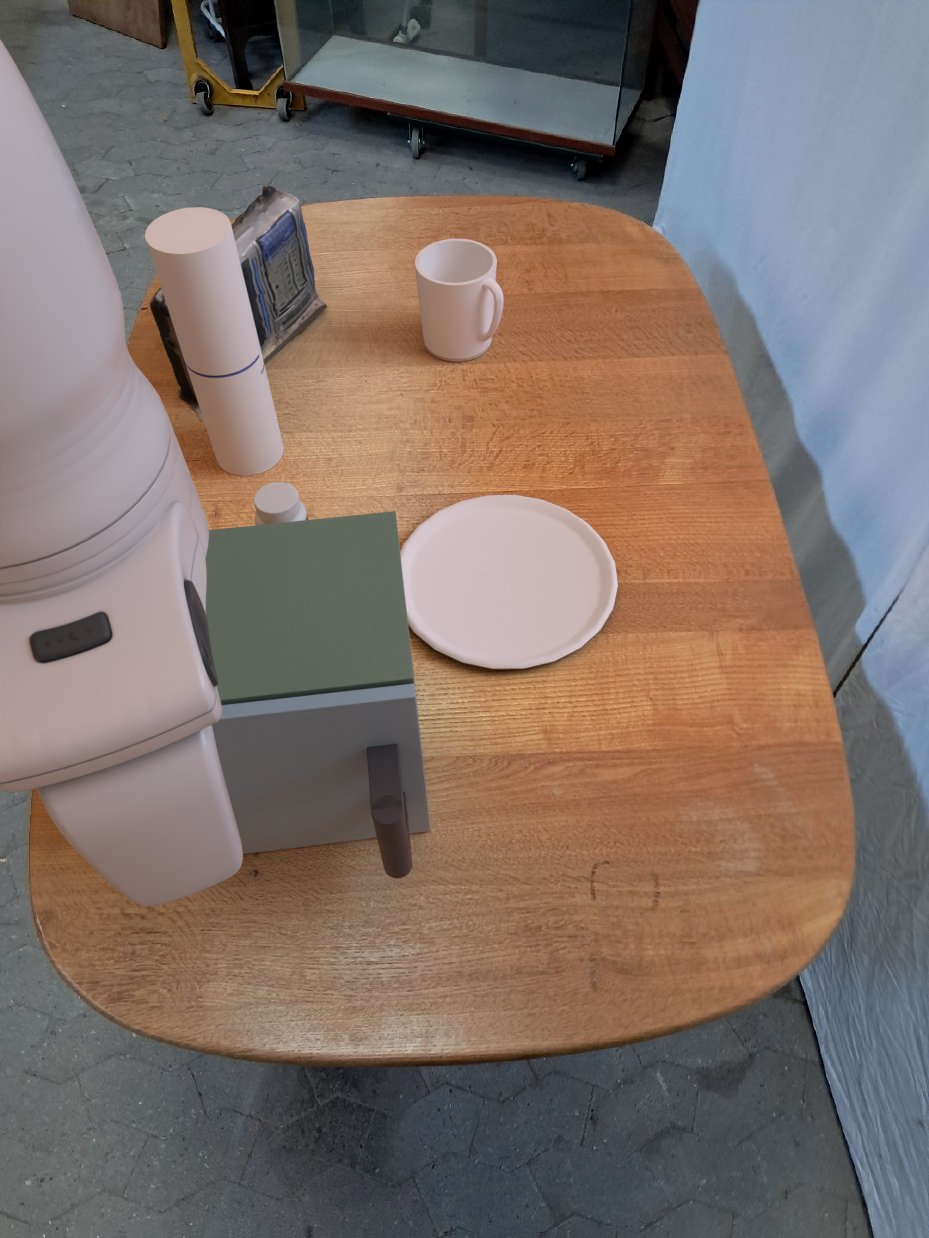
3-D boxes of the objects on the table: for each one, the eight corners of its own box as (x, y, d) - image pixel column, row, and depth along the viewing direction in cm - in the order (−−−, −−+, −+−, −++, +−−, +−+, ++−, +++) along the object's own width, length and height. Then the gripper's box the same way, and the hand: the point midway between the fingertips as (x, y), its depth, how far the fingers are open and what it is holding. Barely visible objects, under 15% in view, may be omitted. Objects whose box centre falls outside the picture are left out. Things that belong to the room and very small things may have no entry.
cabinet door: (438, 900, 67) (424, 779, 51) (191, 932, 66) (99, 818, 50) (429, 819, 71) (414, 682, 55) (196, 847, 70) (111, 717, 54)
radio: (199, 421, 99) (161, 301, 87) (147, 390, 102) (102, 271, 90) (341, 316, 110) (324, 198, 98) (289, 292, 113) (267, 174, 101)
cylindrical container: (203, 465, 95) (127, 243, 75) (238, 422, 99) (176, 201, 79) (262, 483, 93) (201, 261, 73) (296, 439, 97) (247, 216, 77)
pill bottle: (304, 582, 85) (289, 521, 78) (258, 571, 86) (239, 510, 79) (323, 546, 88) (310, 484, 81) (279, 535, 89) (262, 473, 82)
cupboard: (429, 817, 71) (413, 678, 55) (196, 845, 70) (111, 712, 54) (413, 669, 79) (395, 510, 63) (205, 692, 78) (133, 537, 62)
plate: (347, 600, 84) (345, 592, 83) (481, 472, 94) (481, 463, 93) (533, 717, 76) (533, 709, 75) (658, 564, 86) (660, 555, 85)
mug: (404, 344, 107) (397, 264, 98) (454, 309, 111) (451, 229, 102) (475, 383, 102) (475, 303, 94) (525, 345, 106) (528, 264, 98)
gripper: (-56, 363, 35) (79, 587, 46) (-15, 826, 23) (152, 974, 34) (109, 321, 36) (202, 549, 47) (225, 741, 25) (311, 911, 36)
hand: (181, 732), depth 41 cm, fingers open, 8 cm apart
